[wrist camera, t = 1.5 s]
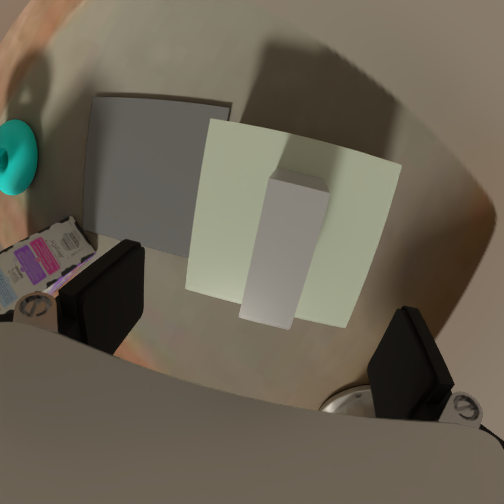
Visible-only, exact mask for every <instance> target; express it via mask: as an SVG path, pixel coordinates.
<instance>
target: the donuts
mask: <svg viewBox="0 0 504 504" xmlns="http://www.w3.org/2000/svg"><path fill="white" fill-rule="evenodd" d="M37 160H38V150H37V143H36V140H35V136H34V134H33V132H32V130H31V128H30V127H29V126H28V125H27V124H26V123H25V122H23V121H21V120H17V119H14V120H9V121H7V122H5V123H4V124H2V125H1V126H0V190H1V191H2V192H4V193H5V194H8V195H17V194H20V193H22V192H23V191H25V190H26V189H27V188H28V186H29V185H30V184H31V182H32V180H33V178H34V175H35V172H36V168H37Z"/></svg>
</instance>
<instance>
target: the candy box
mask: <svg viewBox="0 0 504 504" xmlns="http://www.w3.org/2000/svg"><path fill="white" fill-rule="evenodd" d="M94 254H96V252H95V251H94V249H93V248H92V246H91V244H90V243H89V241H88V240H87V238H86V237H85V236H84V234H83V232H82V231H81V229H80V227H79V226H78V224H77V223H76V221H75V219H74V218H73V217H72V216H69V217H67V218H65V219H63V220H61V221H59V222H57V223H55V224H53V225H51V226H49V227H47V228H45V229H43V230H41V231H39V232H37V233H35V234H33V235H31V236H29V237H27V238H25V239H23V240H21V241H19V242H17V243H15V244H14V245H12V246H10V247H8V248H6V249H4V250H2V251H1V252H0V314H7V313H14V309H15V305H16V303H17V301H18V300H19V299H20V298H22V297H23V296H24V295H27V294H29V293H34V292H43V293H48V294H50V295H52V294H53V293H54V292H55V291H56V290H57V289H58V288H59V287H60V286H61V285H62V284H63V283H64V282H65V281H66V280H68V279H69V278H70V277H71V276H72V275H73V274H74V273H75V272H76V271H77V270H78V269H79V268H80V267H81V266H82V265H83V264H84V263H85V262H86V261H88V260H89V259H90V258H91V257H92V256H93V255H94Z"/></svg>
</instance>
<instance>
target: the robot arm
mask: <svg viewBox="0 0 504 504" xmlns="http://www.w3.org/2000/svg"><path fill="white" fill-rule="evenodd" d="M144 260H145V249H144V247H141V243H140V242H137V241H133V240H129V239H124V240H123V241H121V242H120V243H119V244H117V245H116V246H115V247H113V248H112V249H110V250H109V251H108V252H106V253H105V254H104V255H103V256H101V257H100V258H99V259H97V260H96V261H95V262H93V263H92V264H91V265H89V266H88V267H87V268H86V269H84V270H83V271H82V272H81V273H79V274H78V275H77V276H75V277H74V278H73V279H72V280H70V281H69V282H68V283H67V284H66V285H64V286H63V287H62V288H61V289H59V290H58V292H59V295H58V296H57V297H56V298H54V297H53V296H51V295H50V294H48V293H43V292H34V293H29V294H27V295H24V296H23V297H22V298H20V299H19V300H18V301H17V303H16V305H15V309H14V313H7V314H0V504H504V441H503V440H502V439H500V438H499V437H498V436H496V435H495V434H494V433H492V432H491V431H490V430H488V429H487V428H486V427H484V426H483V425H482V424H481V421H482V417H483V412H482V408H481V406H480V404H479V403H478V401H477V400H476V399H475V398H474V397H472V396H471V395H469V394H467V393H465V392H455V393H453V394H452V392H451V389H452V387H453V386H454V385H455V384H454V382H453V380H452V377H451V375H450V373H449V371H448V368H447V366H446V364H445V362H444V359H443V357H442V355H441V353H440V351H439V349H438V347H437V345H436V343H435V341H434V339H433V337H432V335H431V333H430V331H429V329H428V327H427V325H426V323H425V321H424V319H423V317H422V315H421V314H420V312H419V310H418V309H417V308H412V307H408V306H403V307H402V308H401V309H397V310H396V312H395V314H394V316H393V318H392V320H391V322H390V324H389V326H388V328H387V330H386V332H385V334H384V336H383V338H382V340H381V341H380V343H379V345H378V347H377V349H376V351H375V353H374V354H373V356H372V358H371V360H370V362H369V364H368V369H367V371H368V377H369V382H370V385H364V386H358V387H354V388H350V389H347V390H345V391H342V392H340V393H338V394H336V395H334V396H333V397H331V398H330V399H328V400H327V401H326V402H325V403H324V404H323V405H322V406H321V408H320V409H319V411H318V410H312V409H306V408H300V407H294V406H289V405H283V404H278V403H273V402H269V401H264V400H259V399H255V398H250V397H246V396H242V395H238V394H233V393H229V392H225V391H222V390H218V389H214V388H210V387H207V386H203V385H200V384H196V383H193V382H189V381H186V380H183V379H179V378H176V377H173V376H170V375H167V374H164V373H160V372H157V371H154V370H152V369H149V368H146V367H143V366H140V365H137V364H135V363H132V362H129V361H126V360H124V359H121V358H119V357H116V356H113V354H114V352H115V351H116V350H117V348H118V347H119V345H120V344H121V343H122V341H123V340H124V339H125V337H126V336H127V335H128V333H129V332H130V331H131V329H132V328H133V327H134V325H135V324H136V323H137V322H138V320H139V319H140V318H141V316H142V313H143V308H144Z"/></svg>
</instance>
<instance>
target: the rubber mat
mask: <svg viewBox="0 0 504 504" xmlns="http://www.w3.org/2000/svg"><path fill="white" fill-rule="evenodd" d="M230 110H231V108H226V107H220V106H213V105H205V104H197V103H189V102H179V101H169V100H157V99H142V98H122V97H93V100H92V106H91V113H90V120H89V128H88V137H87V147H86V159H85V174H84V196H83V230H86V231H90V232H94V233H97V234H101V235H104V236H108V237H112V238H115V239H119V240H122V241H123V240H124V239H129V240H133V241H137V242H140V243H141V246H145V247H148V248H152V249H156V250H159V251H163V252H167V253H171V254H175V255H178V256H182V257H186V258H189V252H190V244H191V236H192V228H193V221H194V214H195V207H196V200H197V194H198V187H199V181H200V174H201V168H202V162H203V156H204V151H205V145H206V139H207V134H208V128H209V123H210V118H211V119H218V120H224V121H228V120H229V115H230Z"/></svg>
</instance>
